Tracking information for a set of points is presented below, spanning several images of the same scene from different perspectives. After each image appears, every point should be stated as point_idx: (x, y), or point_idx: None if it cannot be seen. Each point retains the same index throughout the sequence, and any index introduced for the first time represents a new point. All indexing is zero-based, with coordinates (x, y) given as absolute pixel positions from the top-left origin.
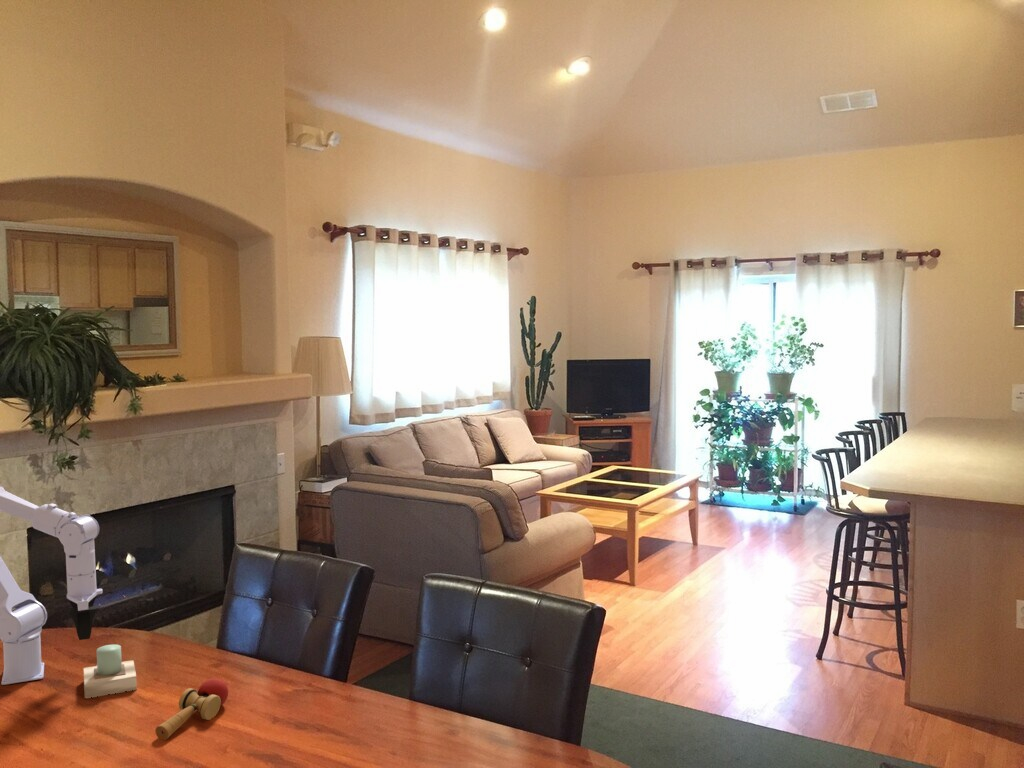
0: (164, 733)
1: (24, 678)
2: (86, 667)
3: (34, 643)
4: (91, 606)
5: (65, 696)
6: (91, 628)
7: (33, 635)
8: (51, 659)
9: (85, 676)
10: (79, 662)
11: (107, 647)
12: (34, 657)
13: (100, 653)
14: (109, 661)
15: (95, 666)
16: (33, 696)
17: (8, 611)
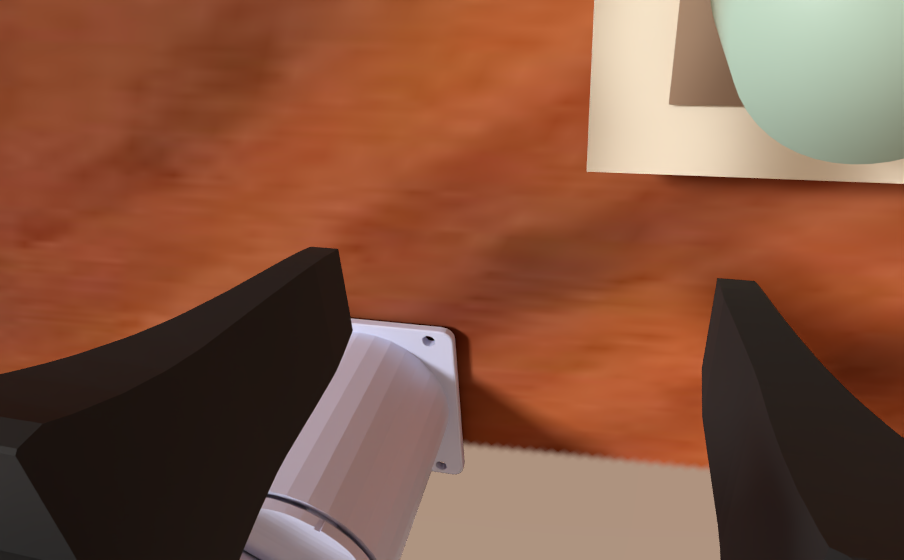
0: None
1: (447, 404)
2: (590, 153)
3: (357, 503)
4: (182, 376)
5: (806, 246)
6: (801, 343)
7: (318, 546)
8: (176, 270)
9: (796, 169)
10: (249, 145)
11: (832, 41)
12: (391, 436)
13: None
14: None
15: (602, 88)
16: (686, 380)
17: None
